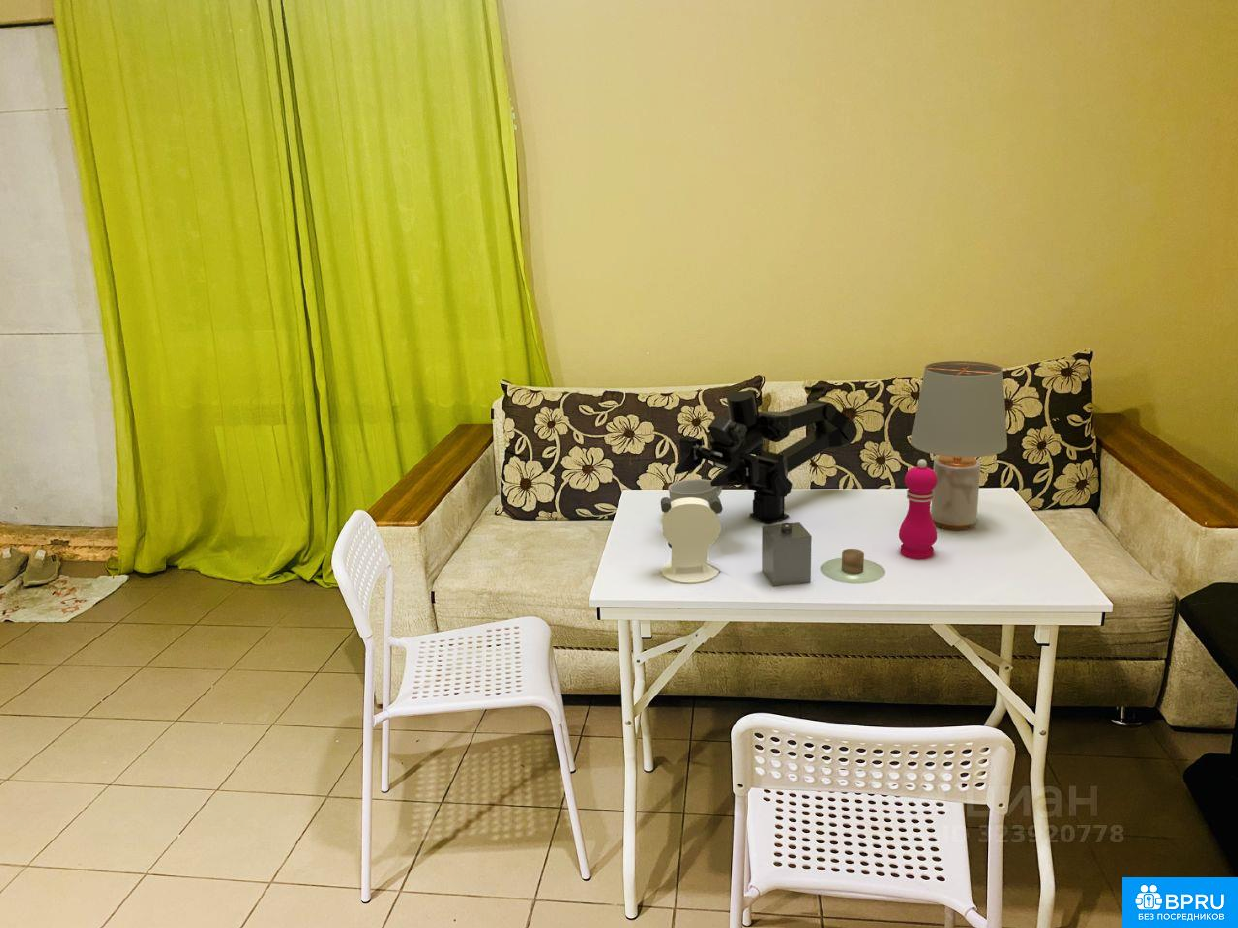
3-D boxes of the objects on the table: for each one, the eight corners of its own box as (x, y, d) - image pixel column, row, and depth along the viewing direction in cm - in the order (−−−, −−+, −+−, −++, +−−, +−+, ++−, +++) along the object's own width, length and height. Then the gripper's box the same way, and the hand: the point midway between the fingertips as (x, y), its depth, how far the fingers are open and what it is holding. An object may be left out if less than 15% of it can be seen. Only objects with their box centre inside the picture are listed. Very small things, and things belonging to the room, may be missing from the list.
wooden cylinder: (852, 564, 180) (852, 547, 179) (867, 570, 177) (868, 553, 176) (837, 569, 178) (837, 552, 177) (852, 576, 175) (853, 559, 174)
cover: (762, 573, 179) (762, 519, 176) (798, 570, 180) (799, 516, 177) (773, 589, 172) (773, 533, 169) (810, 585, 173) (811, 529, 170)
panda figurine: (719, 558, 187) (718, 488, 182) (725, 582, 176) (724, 508, 172) (659, 561, 187) (657, 490, 183) (662, 584, 176) (660, 511, 172)
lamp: (894, 531, 197) (902, 374, 186) (920, 503, 212) (929, 356, 201) (988, 547, 186) (1001, 381, 176) (1008, 516, 201) (1022, 363, 191)
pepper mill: (936, 550, 186) (942, 455, 180) (935, 564, 180) (942, 466, 174) (898, 547, 188) (903, 453, 182) (896, 561, 182) (901, 464, 176)
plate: (852, 555, 185) (852, 552, 185) (898, 575, 176) (898, 572, 175) (807, 570, 180) (807, 567, 179) (852, 591, 170) (852, 588, 170)
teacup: (685, 530, 202) (684, 496, 200) (660, 516, 211) (659, 482, 209) (738, 517, 208) (738, 484, 206) (712, 504, 217) (711, 471, 215)
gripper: (701, 401, 197) (653, 431, 188) (774, 421, 186) (727, 454, 176) (705, 447, 203) (659, 478, 193) (776, 469, 191) (731, 504, 182)
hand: (692, 477), depth 186 cm, fingers open, 9 cm apart
